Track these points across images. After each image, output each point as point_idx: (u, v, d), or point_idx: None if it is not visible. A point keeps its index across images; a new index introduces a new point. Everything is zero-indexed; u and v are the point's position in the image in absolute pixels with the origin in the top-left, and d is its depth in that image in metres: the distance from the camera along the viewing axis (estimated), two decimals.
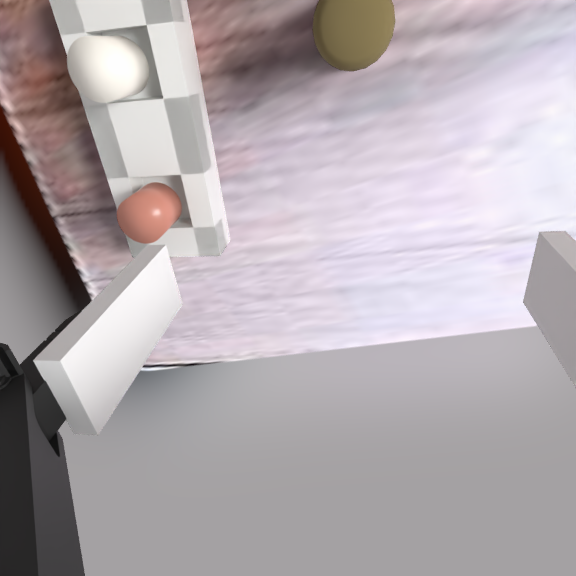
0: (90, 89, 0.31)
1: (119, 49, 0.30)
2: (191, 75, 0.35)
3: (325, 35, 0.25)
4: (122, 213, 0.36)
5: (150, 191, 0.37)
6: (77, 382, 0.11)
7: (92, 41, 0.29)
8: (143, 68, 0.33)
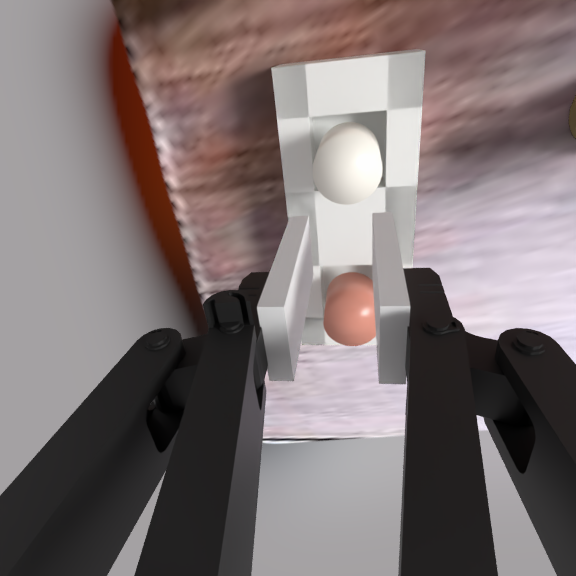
0: (333, 190, 0.27)
1: (376, 146, 0.26)
2: None
3: None
4: (331, 315, 0.32)
5: (359, 288, 0.32)
6: (287, 329, 0.12)
7: (353, 141, 0.25)
8: None
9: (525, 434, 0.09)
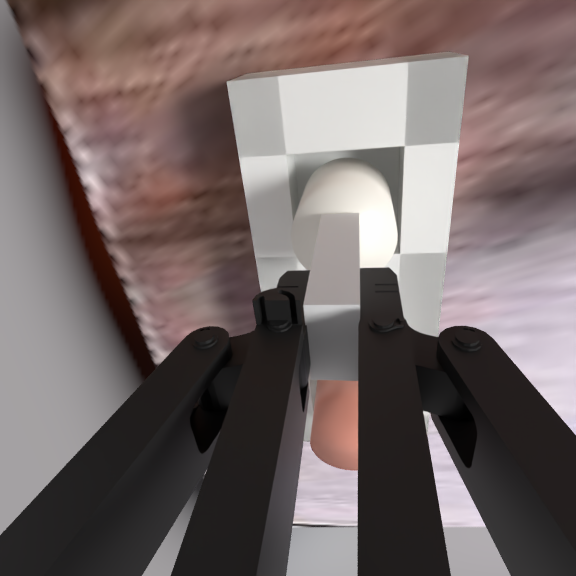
0: None
1: (388, 201, 0.17)
2: None
3: None
4: (321, 434, 0.22)
5: None
6: None
7: (352, 195, 0.16)
8: None
9: (469, 428, 0.09)
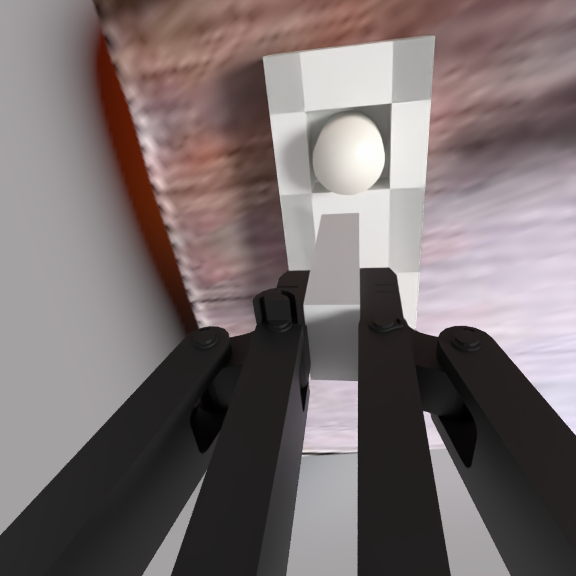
0: (334, 180, 0.26)
1: (378, 134, 0.25)
2: None
3: None
4: None
5: None
6: None
7: (354, 128, 0.24)
8: None
9: (469, 428, 0.10)
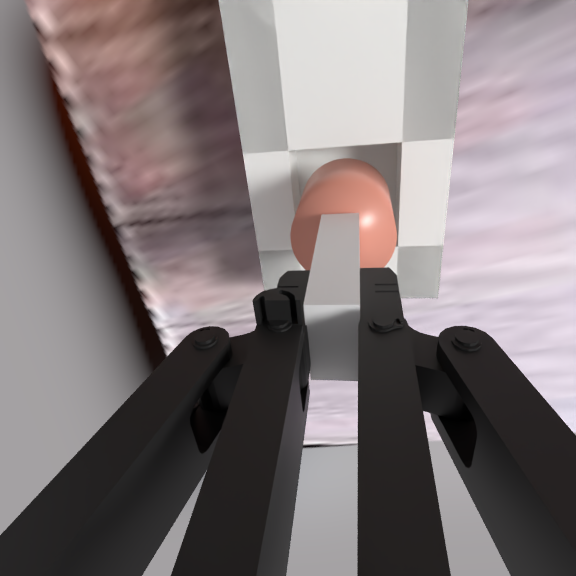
0: None
1: None
2: None
3: None
4: (304, 223, 0.17)
5: (358, 175, 0.17)
6: None
7: None
8: None
9: (469, 428, 0.09)
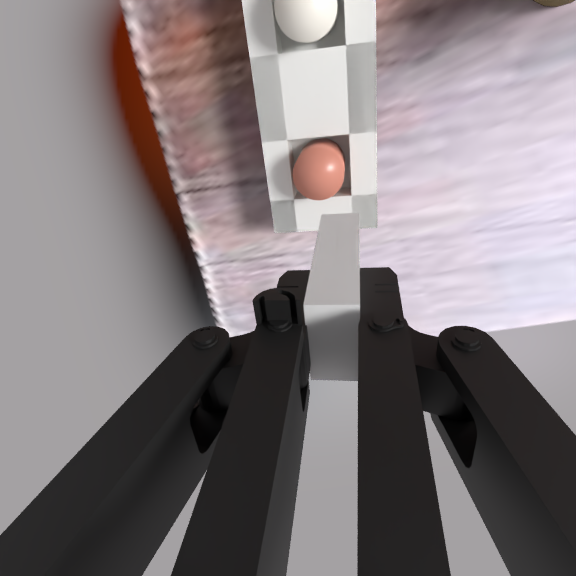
0: (294, 28, 0.30)
1: None
2: None
3: None
4: (299, 167, 0.35)
5: (325, 144, 0.35)
6: None
7: None
8: (337, 9, 0.31)
9: (469, 428, 0.10)
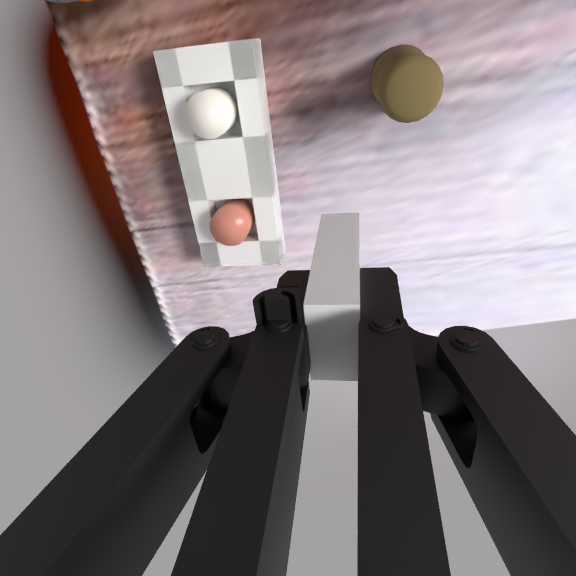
0: (200, 129, 0.41)
1: (224, 100, 0.40)
2: (265, 117, 0.43)
3: (389, 98, 0.33)
4: (214, 222, 0.46)
5: (235, 205, 0.47)
6: None
7: (207, 95, 0.39)
8: (236, 111, 0.43)
9: (469, 428, 0.10)
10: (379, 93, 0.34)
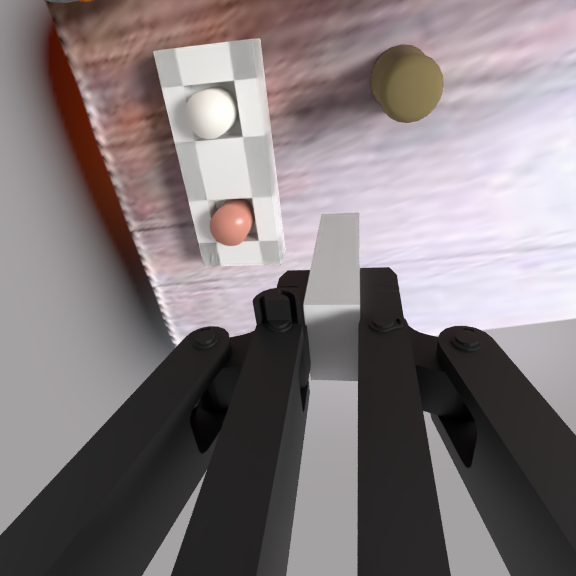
0: (200, 129, 0.41)
1: (224, 100, 0.40)
2: (265, 117, 0.43)
3: (389, 98, 0.33)
4: (214, 222, 0.46)
5: (235, 205, 0.47)
6: None
7: (207, 95, 0.39)
8: (236, 111, 0.43)
9: (469, 428, 0.10)
10: (379, 93, 0.34)
